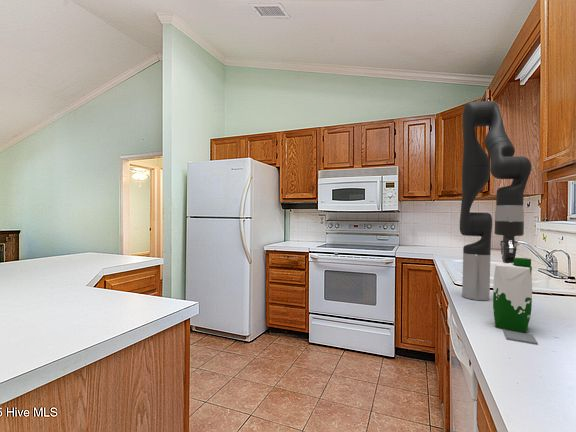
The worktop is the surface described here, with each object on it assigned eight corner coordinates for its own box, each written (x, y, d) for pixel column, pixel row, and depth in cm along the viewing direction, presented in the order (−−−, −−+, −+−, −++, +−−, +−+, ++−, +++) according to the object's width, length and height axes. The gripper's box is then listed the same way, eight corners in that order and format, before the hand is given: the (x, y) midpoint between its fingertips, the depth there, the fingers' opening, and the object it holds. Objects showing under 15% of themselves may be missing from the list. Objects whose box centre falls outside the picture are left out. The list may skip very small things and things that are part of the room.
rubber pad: (503, 331, 88) (503, 329, 88) (532, 336, 85) (532, 334, 85) (506, 339, 83) (506, 337, 83) (537, 344, 80) (537, 343, 80)
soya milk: (530, 335, 86) (532, 261, 86) (490, 327, 92) (492, 257, 91) (531, 326, 93) (533, 258, 92) (494, 319, 98) (496, 254, 98)
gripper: (492, 219, 108) (491, 271, 108) (497, 219, 96) (495, 277, 96) (520, 220, 104) (518, 273, 104) (527, 220, 93) (526, 280, 93)
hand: (507, 275), depth 100 cm, fingers closed
